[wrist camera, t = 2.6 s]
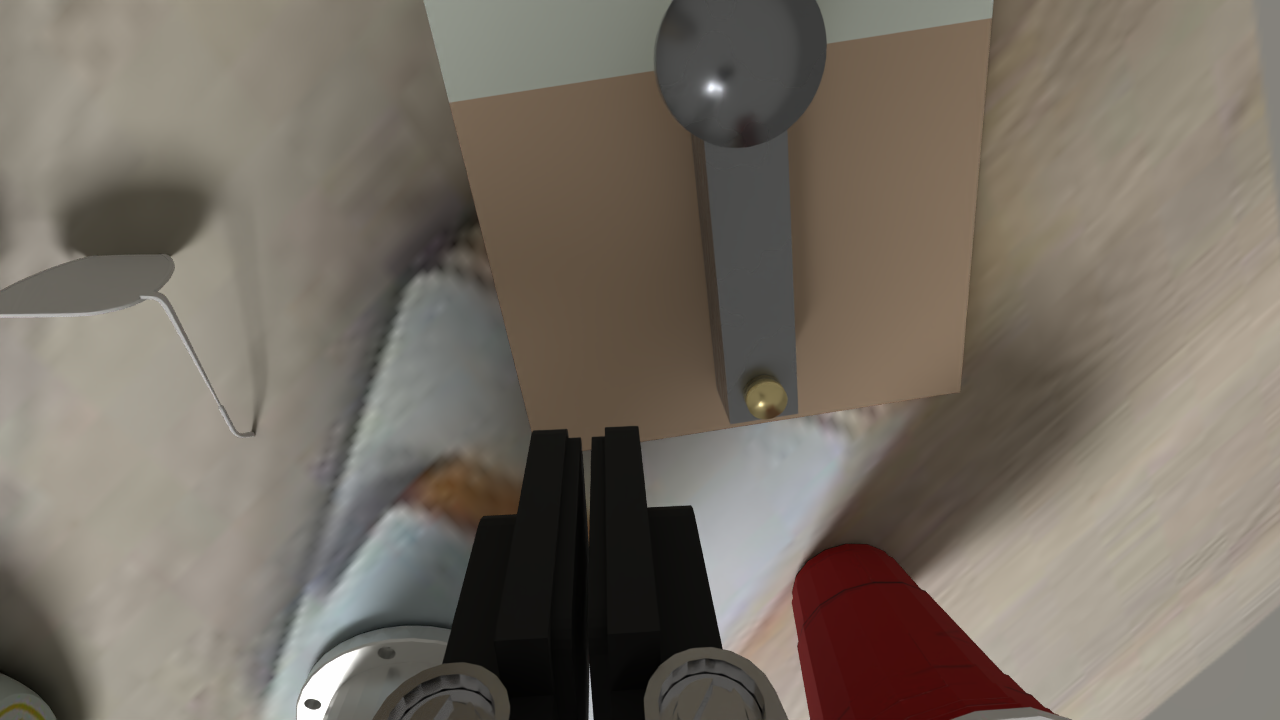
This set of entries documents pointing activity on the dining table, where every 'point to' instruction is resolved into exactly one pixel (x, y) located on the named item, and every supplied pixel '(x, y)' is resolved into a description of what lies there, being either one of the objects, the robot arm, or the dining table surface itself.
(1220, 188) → the dining table surface
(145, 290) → the sunglasses
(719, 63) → the latch bar
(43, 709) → the air freshener
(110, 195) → the dining table surface
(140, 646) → the dining table surface
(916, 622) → the plastic cup
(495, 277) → the door board
